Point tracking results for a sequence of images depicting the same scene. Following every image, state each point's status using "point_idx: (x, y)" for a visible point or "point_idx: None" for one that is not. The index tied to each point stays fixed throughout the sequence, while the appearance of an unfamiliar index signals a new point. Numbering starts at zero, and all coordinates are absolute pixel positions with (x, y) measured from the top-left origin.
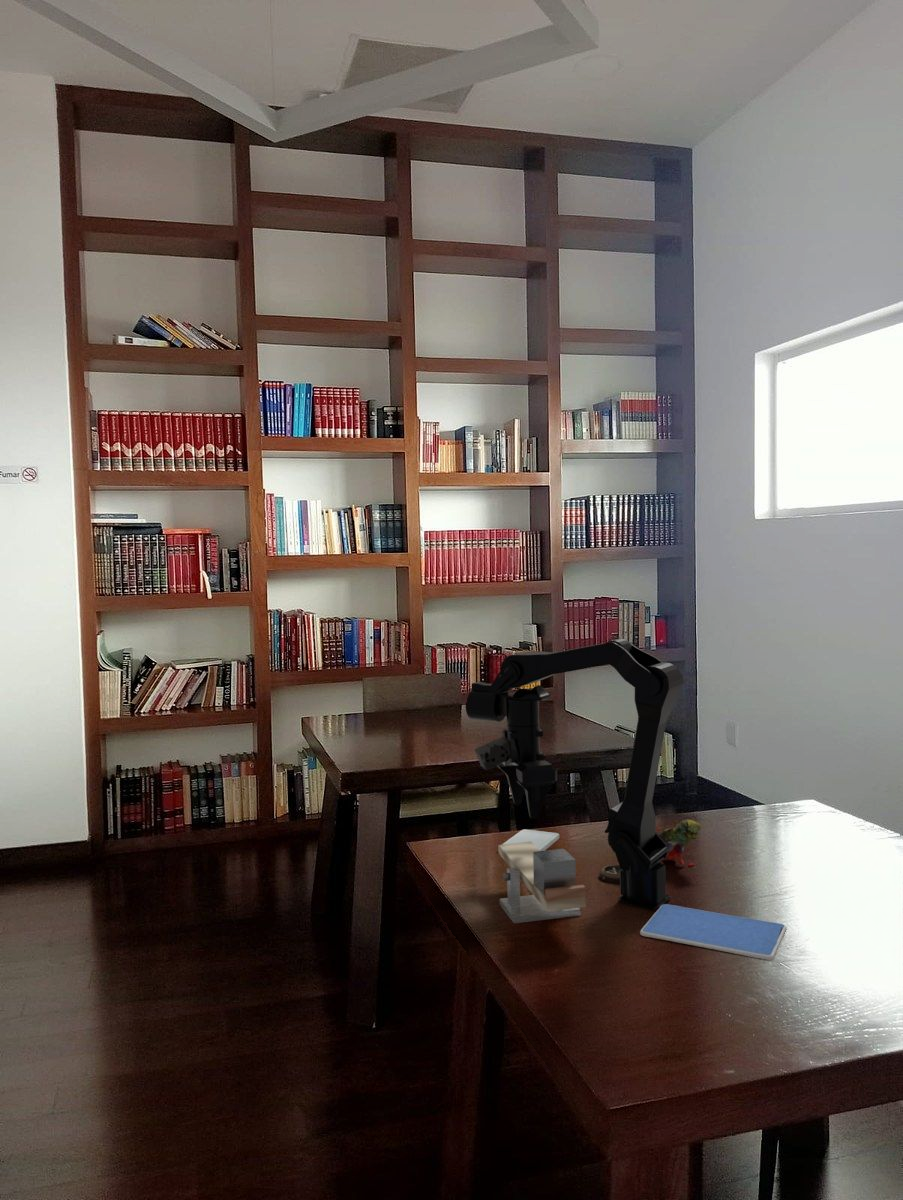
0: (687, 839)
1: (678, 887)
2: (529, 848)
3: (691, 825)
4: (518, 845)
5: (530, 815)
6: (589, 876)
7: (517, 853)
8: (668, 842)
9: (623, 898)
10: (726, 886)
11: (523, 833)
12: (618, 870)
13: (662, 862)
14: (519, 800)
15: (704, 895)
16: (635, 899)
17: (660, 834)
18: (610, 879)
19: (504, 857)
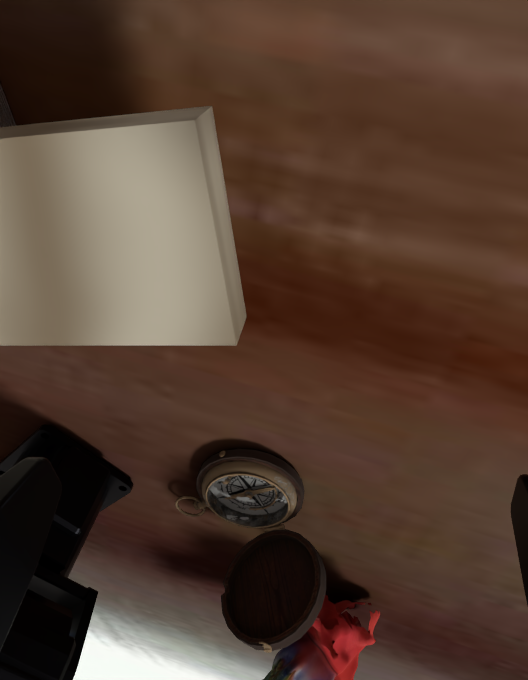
0: None
1: (159, 552)
2: (114, 305)
3: None
4: (173, 259)
5: (5, 475)
6: (273, 427)
7: (18, 216)
8: (278, 659)
9: (50, 441)
10: (159, 607)
11: None
12: (273, 503)
13: None
14: (521, 539)
15: (109, 566)
16: (17, 461)
17: (281, 677)
18: (206, 464)
19: (59, 124)
